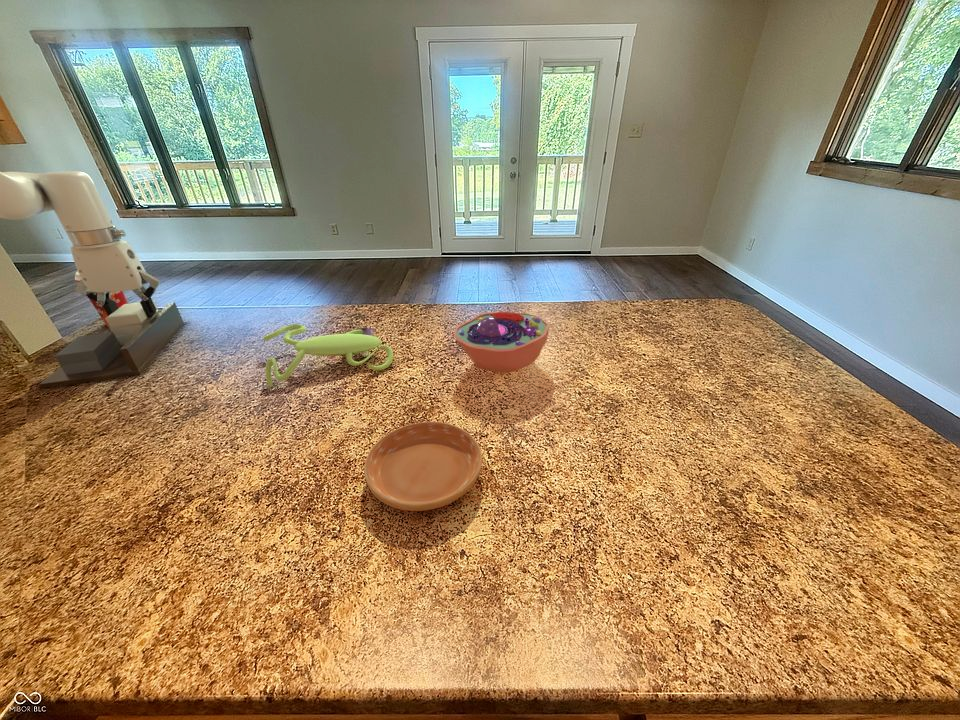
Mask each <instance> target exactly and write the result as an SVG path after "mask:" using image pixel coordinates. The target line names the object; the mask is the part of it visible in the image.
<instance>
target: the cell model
mask: <svg viewBox="0 0 960 720" xmlns="http://www.w3.org/2000/svg"><path fill="white" fill-rule="evenodd" d="M549 331H550V324H549V322H547V321H546V320H545V319H543V317H540V316H538V315H534V314H530V313H522V312H521V313H519V312H514V311H505V310H504V311H489V312H483V313H479V314H477V315H475V316H474V317H472V318H470V319H469V320H467V321H464V322H462V323H460V324H459V325H458V326H457V327H456V328H455V329H454V331H453V337H454V339H455V340H456V342H457V343H458V345H459V346H460V348H462V350H463V351H464V353H465V354H466V355H467V356H468V358H469V359H470V360H471V361H472V362H473V364H474V366H475V367H476V368H477V369H479V370H484V371H491V372H496V373H503V374H504V373H505V374H509V373H514V372H517V371H519V370H521V369H523V368H526V367H528V366H530V365H532V364H533V363H534V362H536V361H537V360H538V358H539V356H540V355H541V352H542V350H543V348H544V346H545V345H546V343H547V341H548V338H549Z"/></svg>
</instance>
